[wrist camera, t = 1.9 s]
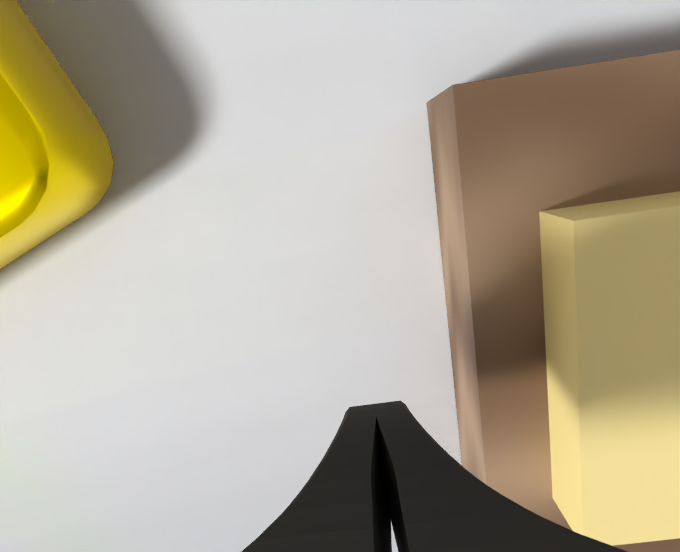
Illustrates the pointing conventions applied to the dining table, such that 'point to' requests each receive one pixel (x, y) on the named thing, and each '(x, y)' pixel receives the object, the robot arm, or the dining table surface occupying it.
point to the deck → (533, 236)
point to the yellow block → (614, 365)
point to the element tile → (43, 141)
